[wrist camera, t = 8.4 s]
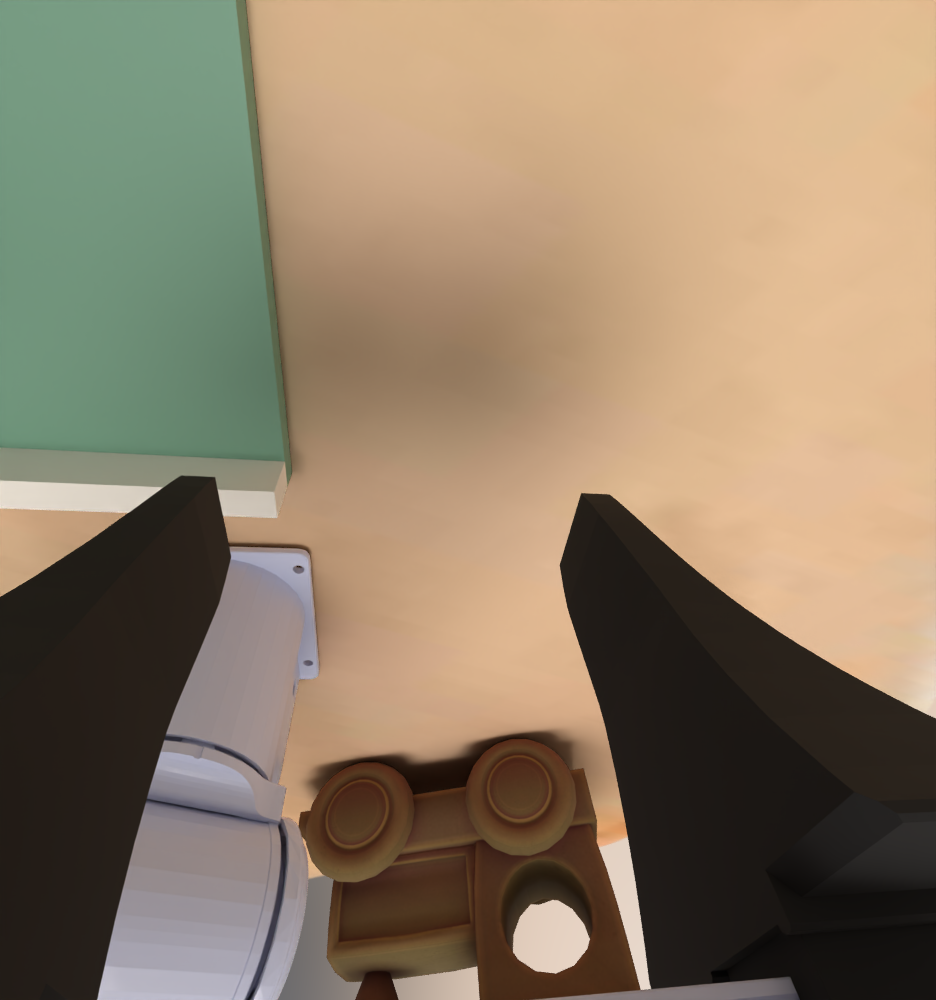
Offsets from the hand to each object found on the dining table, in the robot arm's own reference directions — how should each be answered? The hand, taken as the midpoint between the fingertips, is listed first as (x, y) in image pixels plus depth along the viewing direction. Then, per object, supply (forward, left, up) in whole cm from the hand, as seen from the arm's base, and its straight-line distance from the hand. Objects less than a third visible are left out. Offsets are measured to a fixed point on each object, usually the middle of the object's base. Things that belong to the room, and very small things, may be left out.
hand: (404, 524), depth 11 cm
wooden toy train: (-33, -5, -11) cm, 35 cm away
